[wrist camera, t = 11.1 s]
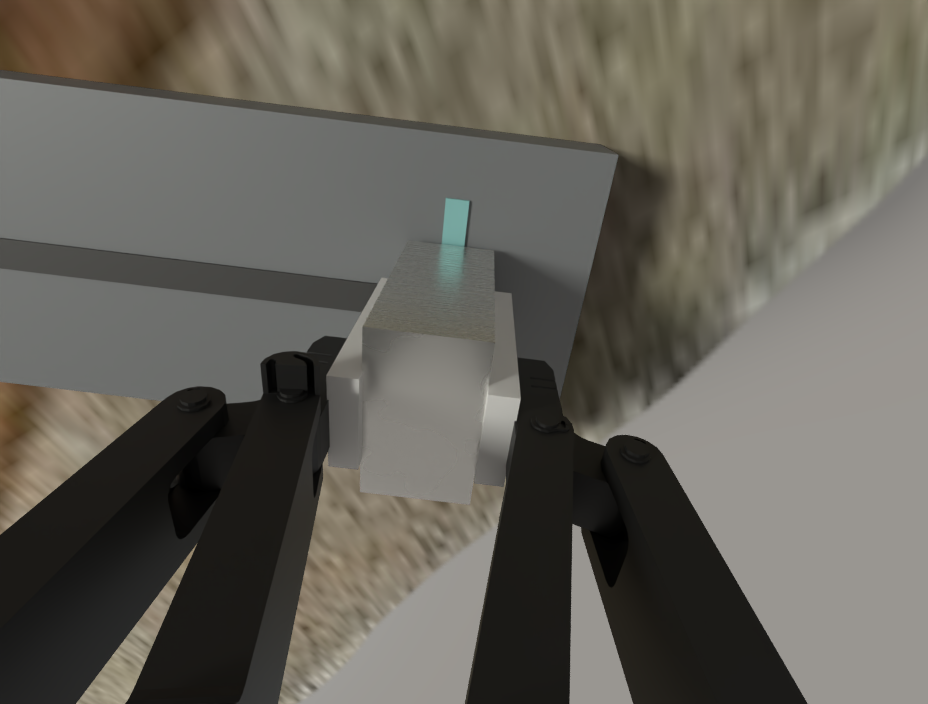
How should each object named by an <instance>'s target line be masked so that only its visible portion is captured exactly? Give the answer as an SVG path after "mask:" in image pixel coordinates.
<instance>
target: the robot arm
mask: <svg viewBox="0 0 928 704" xmlns="http://www.w3.org/2000/svg"><path fill="white" fill-rule="evenodd" d="M387 279H388V278H381V279H380V281H379V283H378V285H377V286H376V288H375V290H374V292H373V293H372V295H371V297H370V299H369V301H368V302H367V304H366V306H365V308H364V309H363V311H362V313H361V315H360V317H359V318H358V320H357V322H356V324H355V325H354V327H353V329H352V331H351V333H350V334H349V336H348V338H341V337H333V336H324V337H322V338H320V339H318V340H317V341H315V342H313V343H312V345H311V346H310V348H309V349H308V351H307V353H306V352H299V351H286V352H280V353H276V354H273V355H271V356H269V357H267V358H265V359H264V360H263V361H262V362H261V363H260V367H261V377H262V387H263V395H262V397H261V400H257V401H251V402H241V403H228V404H227V403H226V396H225V394H224V393H223V392H222V391H221V390H219V389H216V388H213V387H203V386H197V387H190V388H186V389H183V390H180V391H177V392H175V393H173V394H172V395H170V396H168V397H167V398H165V399H164V400H163V401H162V402H161V403H159V404H158V405H157V406H156V407H155V408H153V409H152V410H151V411H150V412H148V413H147V414H146V415H145V416H144V417H142V418H141V419H140V420H139V421H138V422H136V423H135V424H134V425H133V426H132V427H130V428H129V429H128V430H127V431H126V432H124V433H123V434H122V435H121V436H119V437H118V438H117V439H116V440H115V441H113V442H112V443H111V444H110V445H109V446H107V447H106V448H105V449H104V450H103V451H101V452H100V453H99V454H98V455H96V456H95V457H94V458H93V459H92V460H90V461H89V462H88V463H87V464H86V465H84V466H83V467H82V468H81V469H80V470H78V471H77V472H76V473H75V474H73V475H72V476H71V477H70V478H69V479H67V480H66V481H65V482H64V483H63V484H61V485H60V486H59V487H58V488H57V489H55V490H54V491H53V492H52V493H51V494H49V495H48V496H47V497H46V498H44V499H43V500H42V501H41V502H40V503H38V504H37V505H36V506H35V507H34V508H32V509H31V510H30V511H29V512H28V513H26V514H25V515H24V516H23V517H21V518H20V519H19V520H18V521H17V522H15V523H14V524H13V525H12V526H11V527H9V528H8V529H7V530H6V531H5V532H3V533H2V534H1V535H0V704H76V703H77V701H78V700H79V699H80V697H81V696H82V695H83V693H84V692H85V691H86V690H87V688H88V687H89V686H90V684H91V683H92V682H93V680H94V679H95V678H96V676H97V675H98V674H99V672H100V671H101V670H102V668H103V667H104V666H105V664H106V663H107V662H108V660H109V659H110V658H111V656H112V655H113V654H114V652H115V651H116V650H117V649H118V647H119V646H120V645H121V643H122V642H123V641H124V639H125V638H126V637H127V635H128V634H129V633H130V631H131V630H132V629H133V627H134V626H135V625H136V623H137V622H138V621H139V619H140V618H141V617H142V615H143V614H144V613H145V611H146V610H147V609H148V608H149V606H150V605H151V604H152V602H153V601H154V600H155V598H156V597H157V596H158V594H159V593H160V592H161V590H162V589H163V588H164V586H165V585H166V584H167V582H168V581H169V580H170V578H171V577H172V576H173V574H174V573H175V572H176V570H177V569H178V568H179V567H180V565H181V564H182V563H183V561H184V560H185V559H186V557H187V556H188V555H189V553H190V552H191V551H192V549H193V548H194V547H195V545H196V544H197V546H196V548H195V550H194V553H193V555H192V557H191V559H190V562H189V564H188V566H187V568H186V571H185V573H184V575H183V578H182V580H181V582H180V584H179V587H178V589H177V591H176V594H175V596H174V598H173V600H172V603H171V605H170V607H169V610H168V612H167V614H166V616H165V619H164V621H163V623H162V626H161V628H160V630H159V632H158V635H157V637H156V639H155V642H154V644H153V646H152V648H151V651H150V653H149V655H148V658H147V660H146V662H145V664H144V667H143V669H142V671H141V674H140V676H139V678H138V680H137V683H136V685H135V687H134V689H133V691H132V693H131V695H130V697H129V699H128V701H127V702H126V703H125V704H278V700H279V695H280V690H281V685H282V680H283V675H284V670H285V665H286V660H287V655H288V650H289V645H290V640H291V635H292V630H293V625H294V620H295V615H296V610H297V605H298V600H299V595H300V590H301V585H302V580H303V575H304V570H305V565H306V560H307V555H308V550H309V545H310V540H311V535H312V530H313V525H314V520H315V515H316V510H317V505H318V500H319V496H320V491H321V486H322V481H323V461H324V459H325V457H326V454H327V452H328V464H329V466H332V467H340V468H348V469H357V470H358V468H359V465H360V462H361V459H362V402H363V370H362V327H363V325H364V323H365V321H366V319H367V317H368V315H369V313H370V311H371V310H372V308H373V306H374V304H375V302H376V300H377V298H378V296H379V294H380V293H381V291H382V289H383V287H384V285H385V283H386V281H387ZM505 477H506V487H505V492H504V497H503V502H502V507H501V512H500V517H499V524H498V529H497V535H496V540H495V545H494V551H493V557H492V561H491V567H490V572H489V577H488V583H487V588H486V593H485V599H484V605H483V610H482V615H481V620H480V625H479V631H478V637H477V642H476V648H475V652H474V658H473V664H472V668H471V674H470V679H469V684H468V690H467V695H466V700H465V704H569V694H570V633H571V570H572V569H571V567H572V566H571V565H572V524H574V525H577V526H580V527H581V531H582V536H583V539H584V542H585V546H586V549H587V553H588V556H589V559H590V562H591V566H592V569H593V572H594V575H595V579H596V582H597V585H598V589H599V592H600V595H601V598H602V602H603V605H604V609H605V612H606V615H607V618H608V622H609V625H610V628H611V632H612V635H613V638H614V642H615V645H616V648H617V651H618V655H619V658H620V661H621V664H622V668H623V671H624V674H625V678H626V681H627V684H628V687H629V691H630V694H631V698H632V701H633V704H807V702H806V700H805V698H804V697H803V695H802V693H801V692H800V690H799V688H798V686H797V685H796V683H795V681H794V680H793V678H792V676H791V674H790V673H789V671H788V669H787V667H786V666H785V664H784V662H783V661H782V659H781V657H780V656H779V654H778V652H777V650H776V648H775V647H774V645H773V643H772V642H771V640H770V638H769V636H768V635H767V633H766V631H765V630H764V628H763V626H762V624H761V623H760V621H759V619H758V618H757V616H756V614H755V612H754V611H753V609H752V607H751V606H750V604H749V602H748V601H747V599H746V597H745V595H744V593H743V592H742V590H741V588H740V587H739V585H738V583H737V581H736V580H735V578H734V576H733V574H732V573H731V571H730V569H729V567H728V566H727V564H726V562H725V561H724V559H723V557H722V556H721V554H720V552H719V550H718V549H717V547H716V545H715V543H714V542H713V540H712V538H711V537H710V535H709V533H708V531H707V530H706V528H705V526H704V524H703V523H702V521H701V519H700V518H699V516H698V514H697V512H696V511H695V509H694V507H693V505H692V504H691V502H690V501H689V499H688V497H687V495H686V493H685V492H684V490H683V488H682V486H681V485H680V483H679V482H678V480H677V478H676V476H675V474H674V473H673V471H672V469H671V468H670V466H669V464H668V463H667V461H666V459H665V457H664V456H663V454H662V453H661V452H660V451H659V450H658V448H657V447H655V446H654V445H652V444H651V443H649V442H648V441H646V440H644V439H641V438H638V437H634V436H629V435H617V436H614V437H612V438H610V439H609V440H608V442H607V444H606V446H603V445H600V444H597V443H594V442H591V441H588V440H586V439H583V438H581V437H580V436H578V435H576V434H575V433H574V429H573V426H572V423H571V422H570V421H569V420H568V419H567V418H566V417H564V416H563V414H562V409H561V404H560V399H559V395H558V390H557V385H556V382H555V376H554V371H553V369H552V368H551V367H550V366H549V365H548V364H547V363H546V362H545V361H542V360H534V359H526V358H518V357H517V351H516V339H515V328H514V317H513V305H512V294H511V293H505V292H496V291H495V347H494V353H493V360H492V366H491V372H490V379H489V385H488V391H487V397H486V404H485V410H484V417H483V423H482V429H481V436H480V442H479V448H478V455H477V461H476V467H475V477H474V483H476V484H484V485H493V486H501V487H504V482H505Z"/></svg>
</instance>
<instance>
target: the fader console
mask: <svg viewBox="0 0 928 704" xmlns="http://www.w3.org/2000/svg"><path fill="white" fill-rule="evenodd" d="M617 159H618V154H616V153H615V152H613V151H611V150H609V149H608V148H606V147H604V146H603V145H601V144H593V143H585V142H577V141H569V140H561V139H553V138H544V137H536V136H528V135H520V134H512V133H504V132H496V131H488V130H480V129H472V128H464V127H456V126H448V125H440V124H432V123H424V122H416V121H408V120H400V119H392V118H383V117H375V116H367V115H359V114H351V113H343V112H335V111H327V110H319V109H311V108H303V107H295V106H287V105H279V104H271V103H263V102H255V101H247V100H239V99H231V98H223V97H214V96H206V95H198V94H190V93H182V92H174V91H166V90H158V89H150V88H142V87H134V86H126V85H118V84H110V83H102V82H94V81H86V80H78V79H70V78H62V77H53V76H45V75H37V74H29V73H21V72H13V71H5V70H0V382H7V383H16V384H24V385H32V386H41V387H49V388H58V389H66V390H74V391H83V392H91V393H99V394H108V395H116V396H125V397H133V398H141V399H150V400H158V401H163V400H164V399H165V398H167V397H168V396H170V395H172V394H173V393H175V392H177V391H180V390H183V389H186V388H190V387H197V386H203V387H213V388H216V389H219V390H221V391H222V392H223V393H224V394H225V396H226V403H227V404H228V403H241V402H251V401H257V400H261V397H262V395H263V387H262V377H261V367H260V363H261V362H262V361H263V360H264V359H265V358H267V357H269V356H271V355H273V354H276V353H280V352H286V351H299V352H306V353H307V351H308V349H309V348H310V346H311V345H312V343H313V342H315V341H317V340H318V339H320V338H322V337H324V336H333V337H341V338H348V336H349V334H350V333H351V331H352V329H353V327H354V325H355V324H356V322H357V320H358V318H359V317H360V315H361V313H362V311H363V309H364V308H365V306H366V304H367V302H368V301H369V299H370V297H371V295H372V293H373V292H374V290H375V288H376V286H377V285H378V283H379V281H380V279H381V278H388V277H389V276H390V274H391V272H392V270H393V268H394V266H395V264H396V262H397V260H398V259H399V257H400V255H401V253H402V251H403V249H404V247H405V245H406V243H407V242H408V240H412V241H420V242H428V243H436V244H445V245H453V246H461V247H469V248H477V249H486V250H494V280H495V291H496V292H505V293H511V294H512V305H513V317H514V328H515V339H516V351H517V357H518V358H526V359H534V360H542V361H545V362H546V363H547V364H548V365H549V366H550V367H551V368H552V369H553V371H554V376H555V382H556V385H557V390H558V395H559V399H560V396H561V392H562V387H563V383H564V379H565V375H566V371H567V367H568V363H569V358H570V354H571V350H572V346H573V342H574V338H575V334H576V329H577V325H578V321H579V317H580V313H581V309H582V305H583V300H584V296H585V292H586V288H587V284H588V280H589V276H590V271H591V267H592V263H593V259H594V255H595V251H596V246H597V242H598V238H599V234H600V230H601V226H602V222H603V217H604V213H605V209H606V205H607V201H608V197H609V193H610V188H611V184H612V180H613V176H614V172H615V168H616V164H617Z"/></svg>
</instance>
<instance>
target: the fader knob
mask: <svg viewBox="0 0 928 704" xmlns="http://www.w3.org/2000/svg"><path fill="white" fill-rule="evenodd" d="M494 347H495V280H494V250H486V249H477V248H469V247H461V246H453V245H445V244H436V243H428V242H420V241H412V240H408V242H407V243H406V245H405V247H404V249H403V251H402V253H401V255H400V257H399V259H398V260H397V262H396V264H395V266H394V268H393V270H392V272H391V274H390V276H389V277H388V279H387V281H386V283H385V285H384V287H383V289H382V291H381V293H380V294H379V296H378V298H377V300H376V302H375V304H374V306H373V308H372V310H371V311H370V313H369V315H368V317H367V319H366V321H365V323H364V325H363V327H362V370H363V402H362V459H361V462H360V492H366V493H374V494H383V495H391V496H400V497H408V498H416V499H425V500H433V501H442V502H450V503H459V504H467V505H470V499H471V493H472V487H473V480H474V474H475V467H476V461H477V455H478V448H479V442H480V436H481V429H482V423H483V417H484V410H485V404H486V397H487V391H488V385H489V379H490V372H491V366H492V360H493V353H494Z"/></svg>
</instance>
